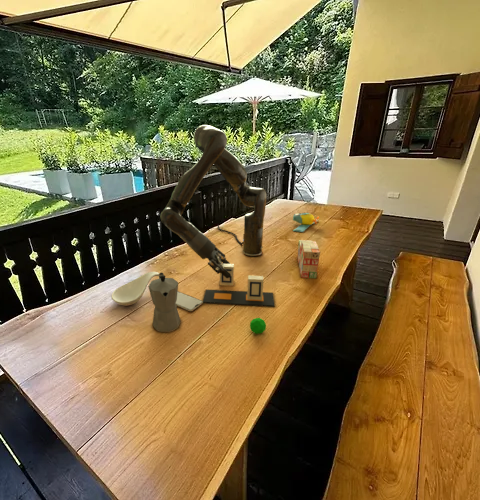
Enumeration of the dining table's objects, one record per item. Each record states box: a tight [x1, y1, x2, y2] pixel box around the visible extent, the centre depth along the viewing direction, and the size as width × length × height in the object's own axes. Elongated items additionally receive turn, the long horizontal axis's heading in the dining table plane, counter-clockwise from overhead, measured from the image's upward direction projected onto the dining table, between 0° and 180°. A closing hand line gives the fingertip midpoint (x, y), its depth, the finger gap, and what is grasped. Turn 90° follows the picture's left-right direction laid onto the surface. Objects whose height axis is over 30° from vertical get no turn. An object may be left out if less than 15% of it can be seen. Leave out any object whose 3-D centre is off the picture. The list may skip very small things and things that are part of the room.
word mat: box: [202, 289, 276, 308], centre depth 113 cm, size 26×9×1 cm, turn 83°
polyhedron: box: [249, 317, 267, 335], centre depth 94 cm, size 5×5×5 cm
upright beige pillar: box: [246, 274, 264, 300], centre depth 110 cm, size 3×6×8 cm, turn 83°
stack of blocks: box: [297, 239, 321, 279], centre depth 134 cm, size 21×6×12 cm, turn 169°
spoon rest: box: [111, 271, 160, 306], centre depth 116 cm, size 24×12×7 cm, turn 140°
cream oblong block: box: [219, 263, 235, 287], centre depth 122 cm, size 3×6×8 cm, turn 83°
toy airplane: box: [292, 212, 320, 233], centre depth 190 cm, size 28×9×15 cm
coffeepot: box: [147, 272, 181, 333], centre depth 97 cm, size 15×9×18 cm, turn 13°
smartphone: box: [175, 290, 204, 312], centre depth 112 cm, size 7×1×15 cm
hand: (229, 271), depth 121 cm, fingers open, 8 cm apart
